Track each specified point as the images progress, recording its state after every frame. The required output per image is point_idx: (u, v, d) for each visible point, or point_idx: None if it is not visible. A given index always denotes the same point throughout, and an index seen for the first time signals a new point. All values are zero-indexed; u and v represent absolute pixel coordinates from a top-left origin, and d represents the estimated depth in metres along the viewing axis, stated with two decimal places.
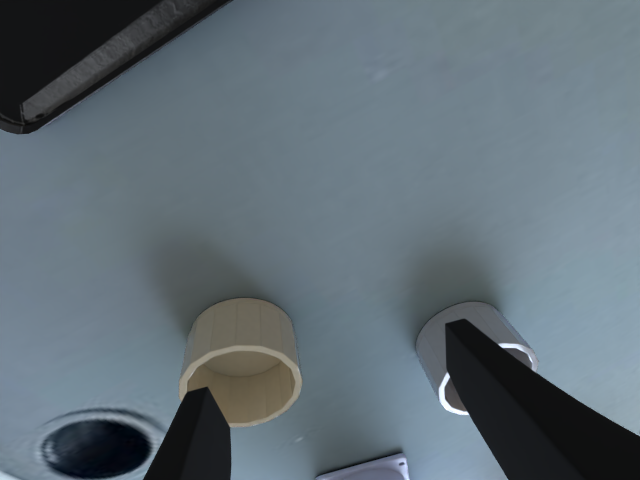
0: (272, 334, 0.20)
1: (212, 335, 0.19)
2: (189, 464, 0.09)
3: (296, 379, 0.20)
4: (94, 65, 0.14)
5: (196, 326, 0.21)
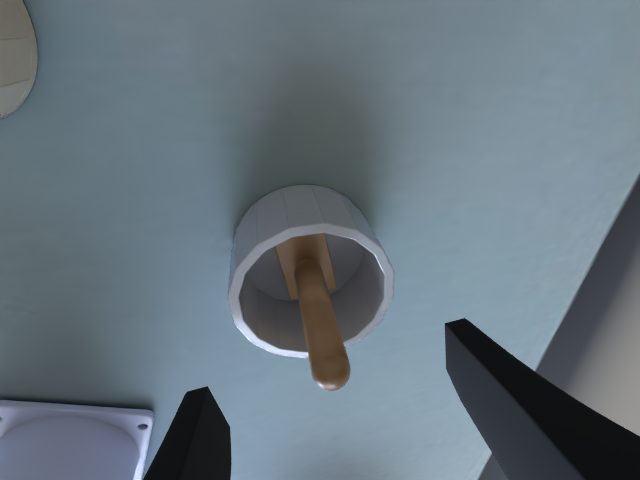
0: None
1: None
2: (189, 464, 0.09)
3: None
4: None
5: None
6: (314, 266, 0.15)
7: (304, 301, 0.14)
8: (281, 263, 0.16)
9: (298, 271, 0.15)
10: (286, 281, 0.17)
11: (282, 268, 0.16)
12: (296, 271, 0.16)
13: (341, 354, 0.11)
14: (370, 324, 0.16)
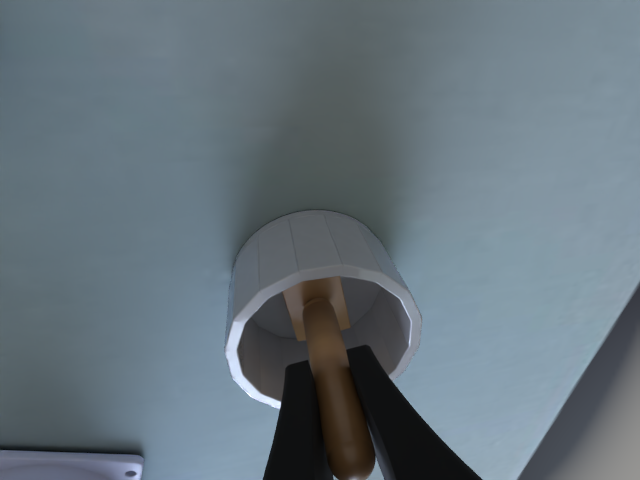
0: None
1: None
2: (313, 430, 0.09)
3: None
4: None
5: None
6: (326, 308, 0.13)
7: (315, 356, 0.11)
8: (287, 302, 0.14)
9: (307, 314, 0.13)
10: (292, 322, 0.14)
11: (288, 308, 0.14)
12: (305, 313, 0.13)
13: (364, 438, 0.09)
14: (391, 374, 0.13)
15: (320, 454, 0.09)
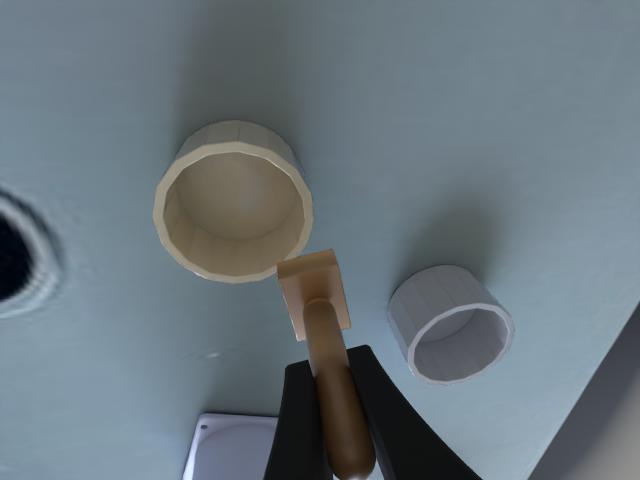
0: (302, 174, 0.16)
1: (238, 134, 0.15)
2: (313, 430, 0.09)
3: (301, 240, 0.16)
4: None
5: (208, 127, 0.16)
6: (326, 308, 0.13)
7: (316, 356, 0.11)
8: (287, 302, 0.14)
9: (307, 313, 0.13)
10: (293, 321, 0.14)
11: (288, 307, 0.14)
12: (305, 313, 0.13)
13: (365, 437, 0.09)
14: (492, 362, 0.23)
15: (320, 454, 0.09)
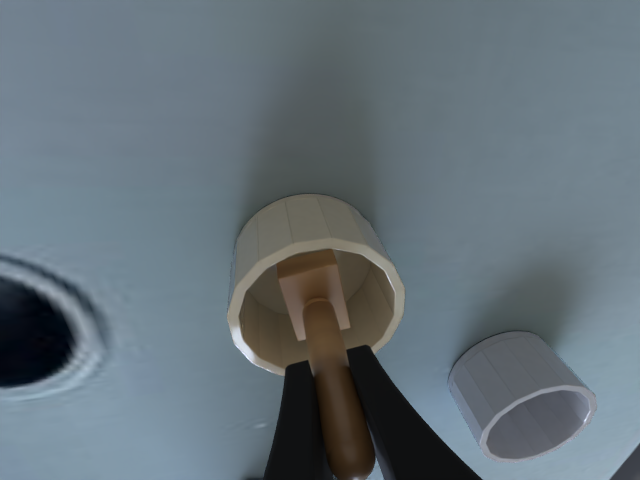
0: None
1: (326, 222, 0.13)
2: (313, 430, 0.09)
3: (387, 333, 0.15)
4: None
5: (284, 207, 0.14)
6: (326, 307, 0.13)
7: (315, 356, 0.11)
8: (287, 302, 0.14)
9: (307, 313, 0.13)
10: (292, 321, 0.14)
11: (288, 307, 0.14)
12: (304, 313, 0.13)
13: (364, 437, 0.09)
14: (568, 439, 0.21)
15: (320, 454, 0.09)
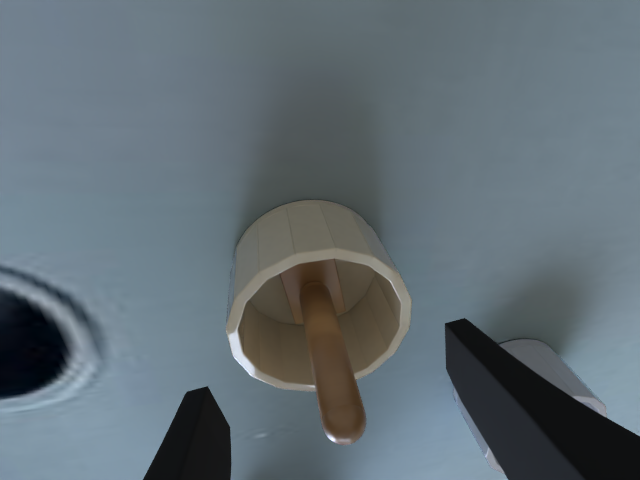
0: None
1: (329, 231, 0.12)
2: (189, 464, 0.09)
3: (392, 345, 0.14)
4: None
5: (285, 214, 0.14)
6: (322, 290, 0.14)
7: (311, 333, 0.12)
8: (285, 286, 0.15)
9: (304, 296, 0.14)
10: (290, 305, 0.15)
11: (286, 291, 0.15)
12: (302, 296, 0.14)
13: (356, 403, 0.10)
14: None
15: None
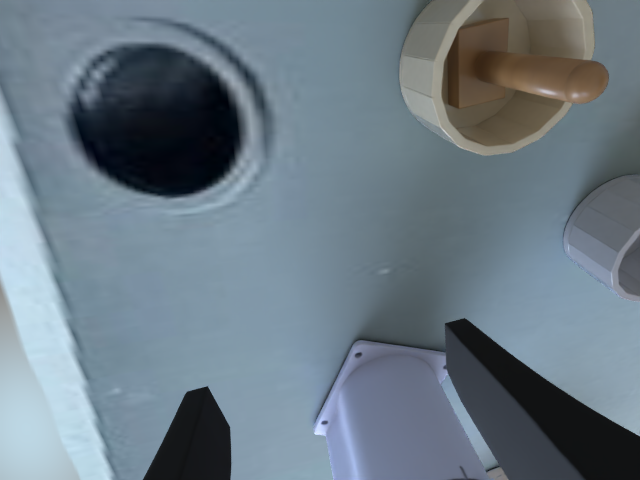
0: None
1: None
2: (189, 464, 0.09)
3: (566, 104, 0.15)
4: None
5: None
6: (502, 52, 0.15)
7: (515, 60, 0.13)
8: (460, 58, 0.16)
9: (486, 57, 0.15)
10: (460, 83, 0.16)
11: (459, 65, 0.16)
12: (482, 59, 0.15)
13: (598, 63, 0.11)
14: None
15: None
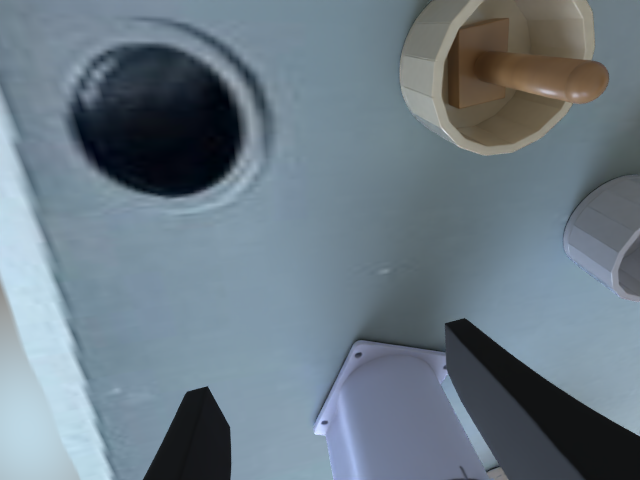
0: None
1: None
2: (189, 464, 0.09)
3: (566, 104, 0.15)
4: None
5: None
6: None
7: (515, 60, 0.13)
8: (460, 58, 0.16)
9: (486, 57, 0.15)
10: (460, 83, 0.16)
11: (460, 65, 0.16)
12: (482, 59, 0.15)
13: (598, 63, 0.11)
14: None
15: None
